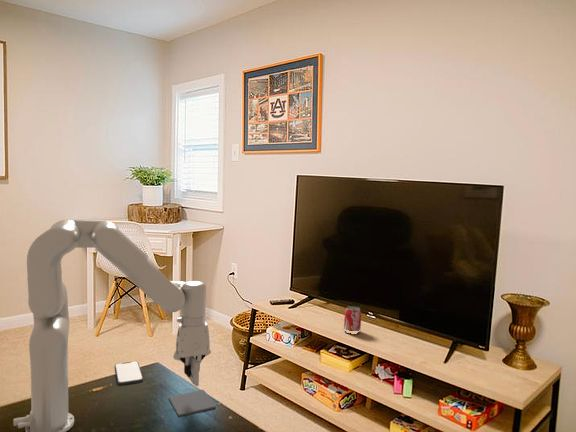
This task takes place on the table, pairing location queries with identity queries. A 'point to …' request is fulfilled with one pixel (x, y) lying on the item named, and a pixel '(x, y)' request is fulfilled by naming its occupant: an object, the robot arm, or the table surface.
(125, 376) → the phone case
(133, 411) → the table surface
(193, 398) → the pad
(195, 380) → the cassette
